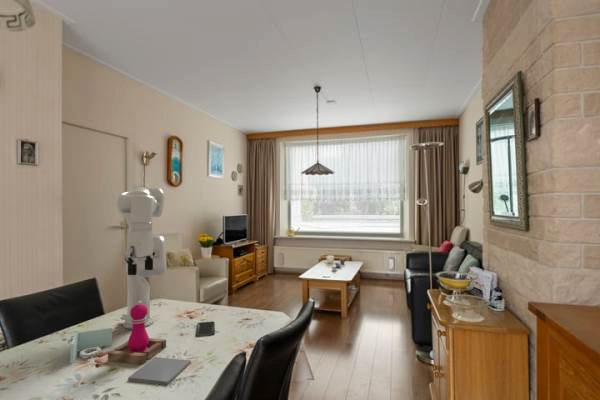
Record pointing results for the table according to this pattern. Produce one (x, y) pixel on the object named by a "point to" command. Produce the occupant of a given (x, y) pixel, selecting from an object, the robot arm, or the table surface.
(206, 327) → the phone
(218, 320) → the table surface
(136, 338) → the pepper mill
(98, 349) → the right angle wall
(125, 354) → the collar
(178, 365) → the slate tile
